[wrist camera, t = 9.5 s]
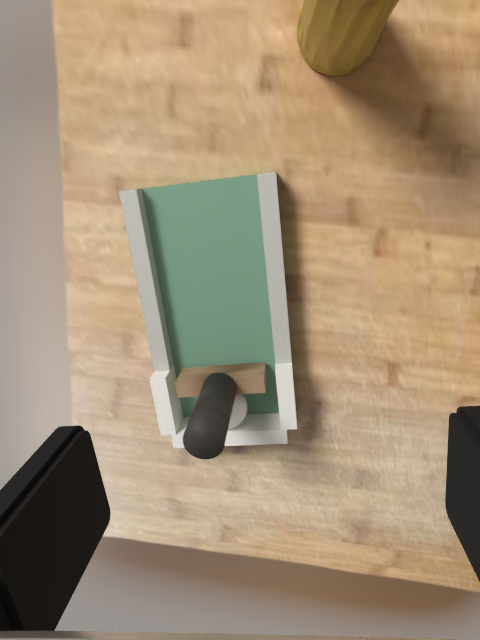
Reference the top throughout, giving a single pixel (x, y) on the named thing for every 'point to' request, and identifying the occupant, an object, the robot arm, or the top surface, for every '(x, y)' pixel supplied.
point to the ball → (238, 411)
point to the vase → (341, 32)
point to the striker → (215, 402)
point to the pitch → (214, 295)
